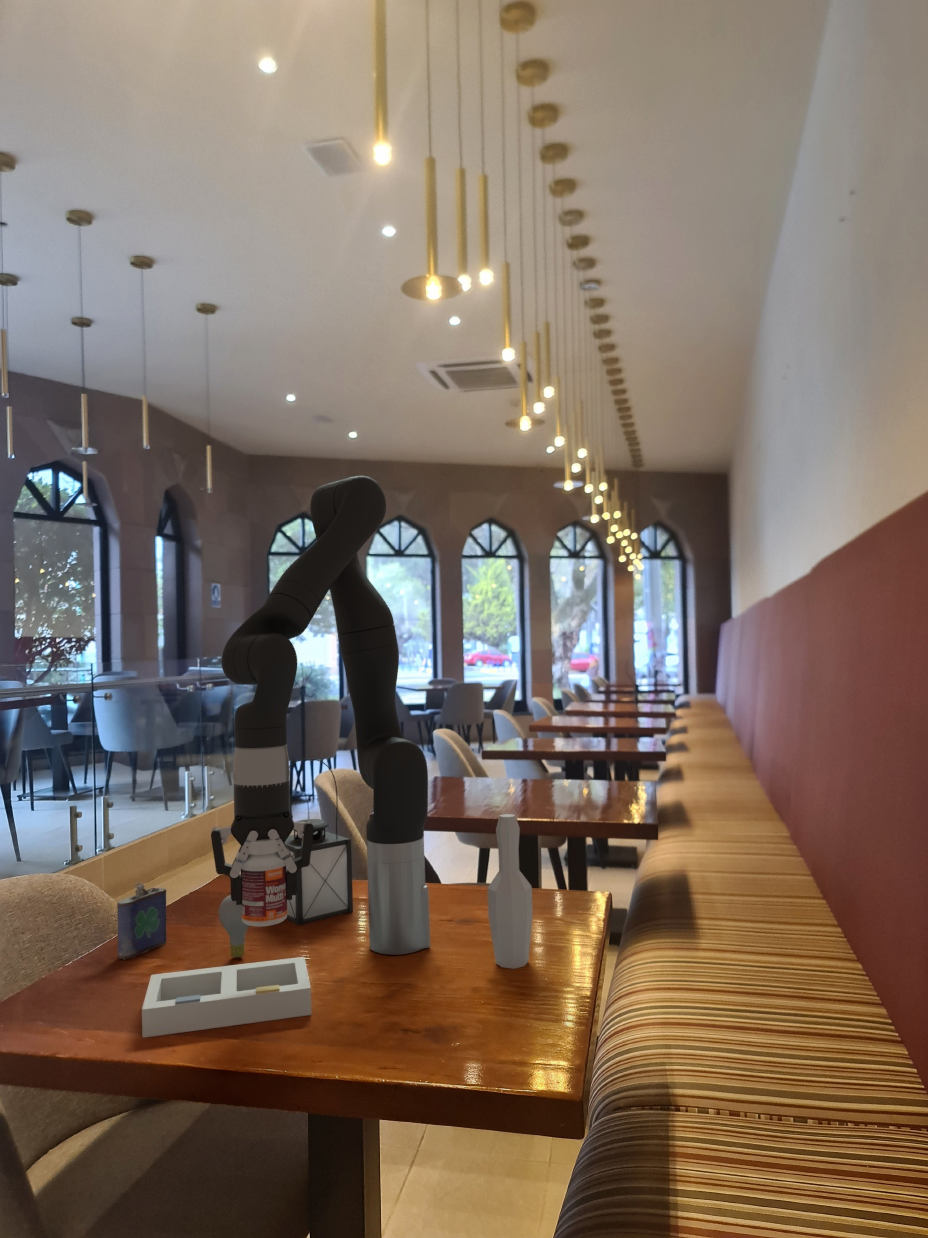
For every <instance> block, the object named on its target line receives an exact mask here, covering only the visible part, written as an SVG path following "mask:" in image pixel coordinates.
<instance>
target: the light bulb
mask: <svg viewBox="0 0 928 1238" xmlns="http://www.w3.org/2000/svg"><path fill="white" fill-rule="evenodd" d="M218 919H219V922H220V923H221V926H222V927H223V928H224V929H225V931H226V933H227V934H228V936H229V945H230V956H231V957H232V958H234V959H240V958H241V957H243V956H244V955H245V942H246V938H245V937H246V934H247V931H248V928H249V927H250V925H247V924H245V923H243V921H242V914H241V905H236V901H232V899H231V894H230V895H229V894H228V895H227V896H225V898H223V900H222V901H221V902H220V904H219V907H218Z"/></svg>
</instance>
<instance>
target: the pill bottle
mask: <svg viewBox="0 0 928 1238" xmlns="http://www.w3.org/2000/svg"><path fill="white" fill-rule="evenodd" d="M278 845H280V844H278ZM247 848H248V846H247ZM286 872H287V871H286V866H285V862H284V860H282V859H281V857H280V855H279V854H278V847H277V840H271V839H264V840H256V841H253V842H250V843H249V855H248V857H247V859H246V862H245V863H244V864H243V867H242V869H241V871H240V874H241V914H242V921H243V923H245V924H247V925H249V927H250V926H252V927H269V926H274V925H277V924H280V923H282V922H284V921H285V920H287V919H286V917H287V878H286V877H287V876H286Z"/></svg>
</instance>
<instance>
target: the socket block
mask: <svg viewBox="0 0 928 1238" xmlns="http://www.w3.org/2000/svg"><path fill="white" fill-rule="evenodd" d="M307 967H308V966H307V963H306V958H305V956H299V957H291V958H281V959H275V960H274V959H273V960H265V961H257V962H256V961H255V962H250V963H249V962H248V963H239V964H233V965H223V966H216V967H215V966H214V967H207V968H197V969H189V970H181V971H172V972H166V973H157V974H156V973H155V974H150V979H149V983H148V986H147V990H146V993H145V996H144V997H145V998H144V1000H143V1003H142V1009H141V1025H142V1026H141V1027H142V1029H141V1032H142V1033H141V1034H142V1038H144V1039H145V1038H151V1037H158V1036H165V1035H172V1034H174V1035H175V1034H179V1033H186V1032H187V1033H188V1032H194V1031H201V1030H210V1029H215V1028H217V1029H219V1028H225V1027H231V1026H238V1025H245V1024H254V1023H260V1022H261V1023H262V1022H267V1021H269V1022H271V1021H277V1020H284V1019H290V1018H291V1019H292V1018H297V1017H305V1016H312V987H311V983H310V978H309V972H308V968H307Z"/></svg>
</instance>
